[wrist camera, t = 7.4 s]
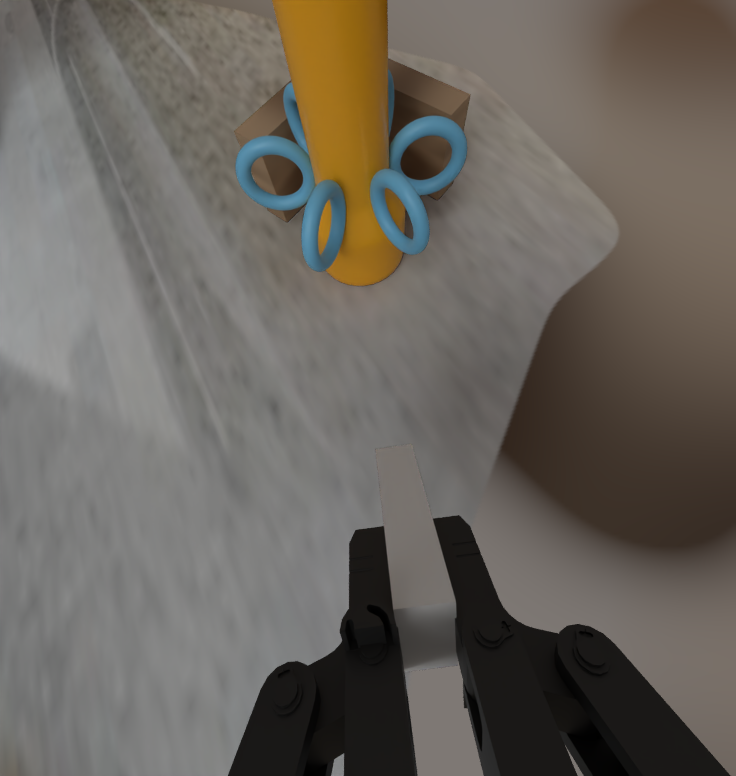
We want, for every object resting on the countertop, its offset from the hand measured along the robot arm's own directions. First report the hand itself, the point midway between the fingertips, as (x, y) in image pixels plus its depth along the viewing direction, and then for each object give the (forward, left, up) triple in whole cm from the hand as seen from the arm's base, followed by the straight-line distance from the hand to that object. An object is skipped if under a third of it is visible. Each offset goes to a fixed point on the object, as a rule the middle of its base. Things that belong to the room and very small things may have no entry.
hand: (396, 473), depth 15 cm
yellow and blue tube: (-15, +4, -6) cm, 17 cm away
